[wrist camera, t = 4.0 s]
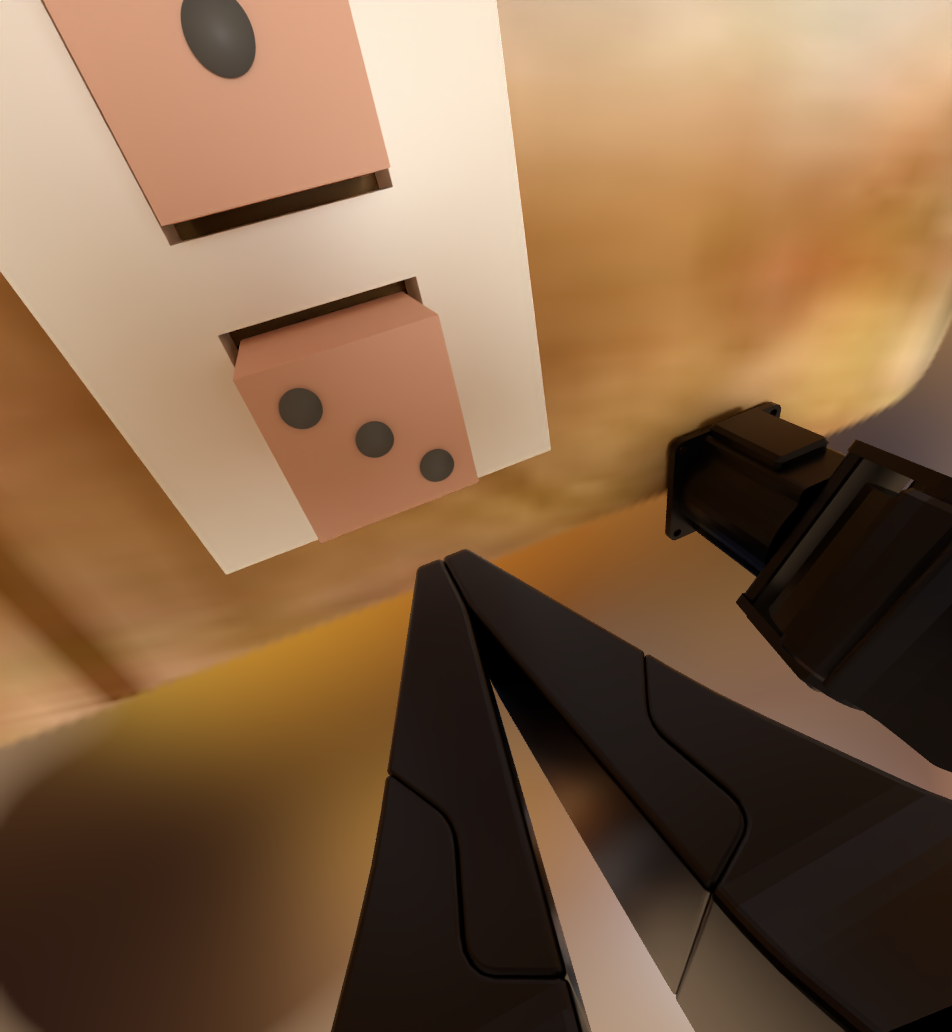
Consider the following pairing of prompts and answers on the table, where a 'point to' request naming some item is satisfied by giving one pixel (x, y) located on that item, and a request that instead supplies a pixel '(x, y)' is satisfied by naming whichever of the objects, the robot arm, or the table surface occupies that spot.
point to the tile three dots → (359, 411)
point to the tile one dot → (227, 96)
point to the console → (272, 261)
